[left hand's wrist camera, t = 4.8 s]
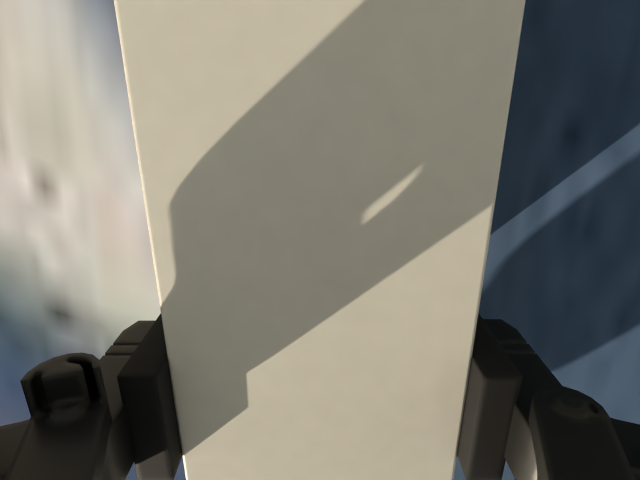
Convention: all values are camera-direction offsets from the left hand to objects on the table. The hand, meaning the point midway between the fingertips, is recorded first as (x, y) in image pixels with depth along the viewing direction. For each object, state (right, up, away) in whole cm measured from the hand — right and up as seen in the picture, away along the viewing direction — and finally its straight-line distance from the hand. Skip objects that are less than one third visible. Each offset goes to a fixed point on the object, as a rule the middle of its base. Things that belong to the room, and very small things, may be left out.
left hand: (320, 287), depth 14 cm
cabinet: (0, +5, +4) cm, 6 cm away
